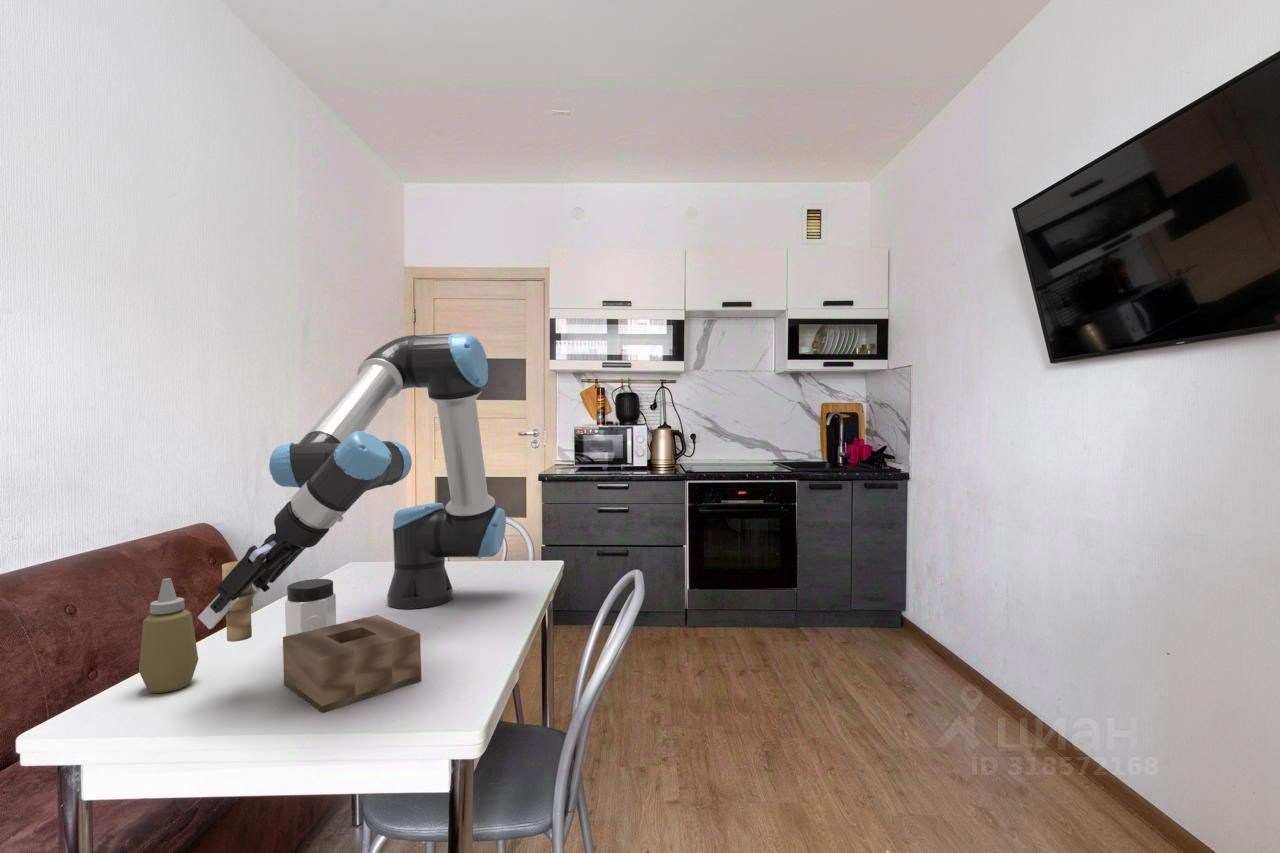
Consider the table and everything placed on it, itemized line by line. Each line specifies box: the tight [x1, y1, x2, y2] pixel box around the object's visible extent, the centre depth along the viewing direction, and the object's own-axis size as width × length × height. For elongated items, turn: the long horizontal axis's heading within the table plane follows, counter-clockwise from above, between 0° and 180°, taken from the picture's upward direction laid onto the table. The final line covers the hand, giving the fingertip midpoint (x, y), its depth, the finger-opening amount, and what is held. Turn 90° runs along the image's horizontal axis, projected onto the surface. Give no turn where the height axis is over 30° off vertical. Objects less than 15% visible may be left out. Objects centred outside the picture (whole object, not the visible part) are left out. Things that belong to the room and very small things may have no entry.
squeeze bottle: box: [138, 577, 199, 694], centre depth 110 cm, size 8×8×18 cm
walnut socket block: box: [282, 614, 422, 713], centre depth 110 cm, size 16×16×8 cm
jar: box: [284, 578, 337, 636], centre depth 130 cm, size 9×8×12 cm
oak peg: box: [221, 560, 254, 643], centre depth 105 cm, size 4×4×12 cm
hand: (216, 617), depth 106 cm, fingers closed on oak peg, 4 cm apart
